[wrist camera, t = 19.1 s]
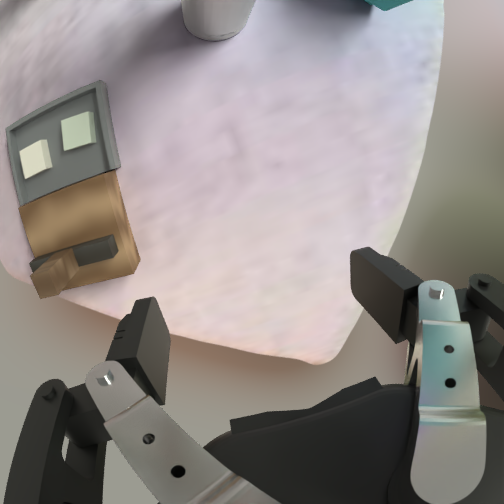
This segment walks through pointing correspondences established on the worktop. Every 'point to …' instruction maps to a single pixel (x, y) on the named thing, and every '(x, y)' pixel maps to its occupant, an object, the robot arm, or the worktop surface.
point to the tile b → (78, 131)
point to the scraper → (68, 264)
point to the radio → (386, 3)
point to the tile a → (35, 158)
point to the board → (83, 226)
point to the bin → (49, 128)
